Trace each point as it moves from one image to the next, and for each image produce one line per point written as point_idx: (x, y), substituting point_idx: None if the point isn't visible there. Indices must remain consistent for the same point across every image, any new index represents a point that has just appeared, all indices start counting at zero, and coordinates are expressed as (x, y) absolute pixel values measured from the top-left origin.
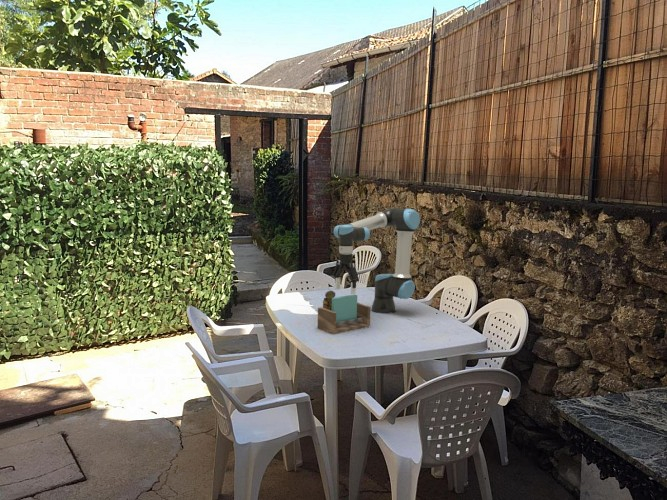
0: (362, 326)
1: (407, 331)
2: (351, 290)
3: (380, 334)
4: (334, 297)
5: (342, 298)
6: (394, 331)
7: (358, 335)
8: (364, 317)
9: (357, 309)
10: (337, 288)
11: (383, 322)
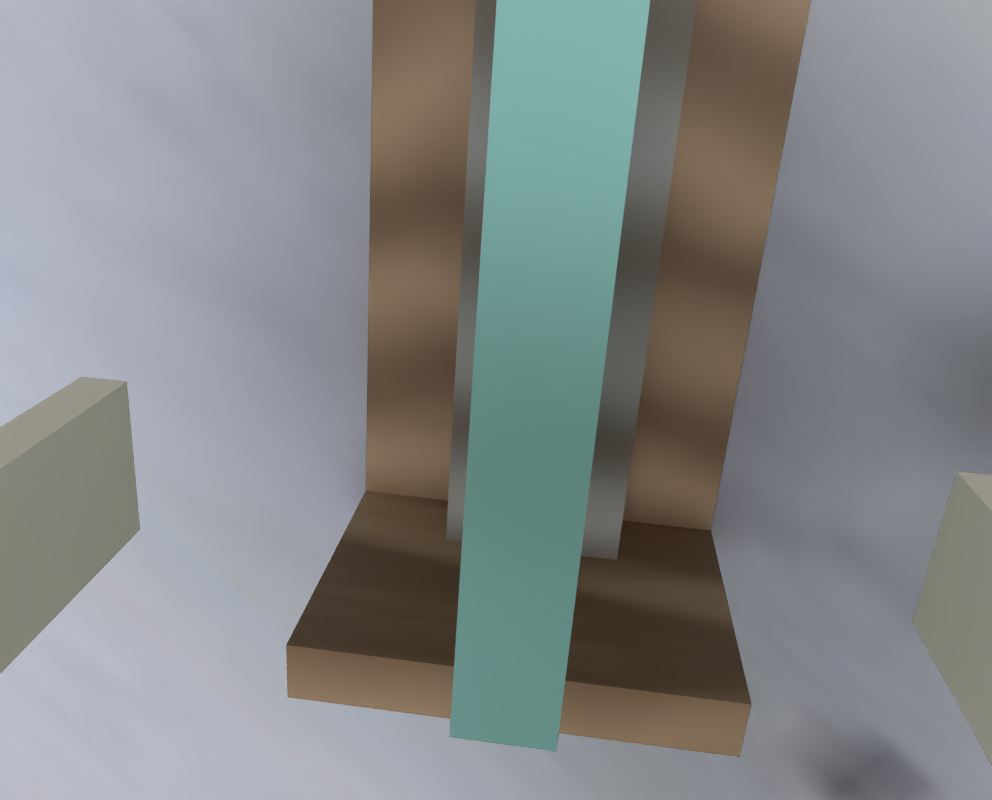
0: (368, 407)
1: (17, 674)
2: (9, 425)
3: (51, 378)
4: (639, 70)
5: (481, 272)
6: None
7: (142, 115)
8: (412, 544)
9: (580, 617)
10: (956, 540)
11: (426, 749)
